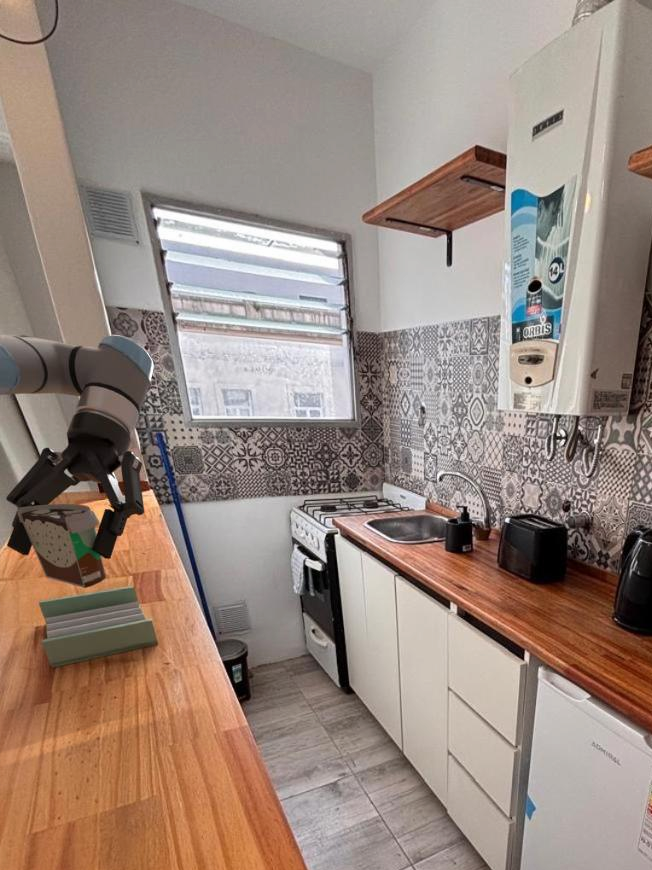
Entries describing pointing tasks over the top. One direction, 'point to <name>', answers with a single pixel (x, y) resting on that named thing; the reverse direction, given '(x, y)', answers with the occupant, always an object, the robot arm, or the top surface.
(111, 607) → the dish rack
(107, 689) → the top surface
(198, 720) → the top surface
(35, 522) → the food container
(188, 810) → the top surface
